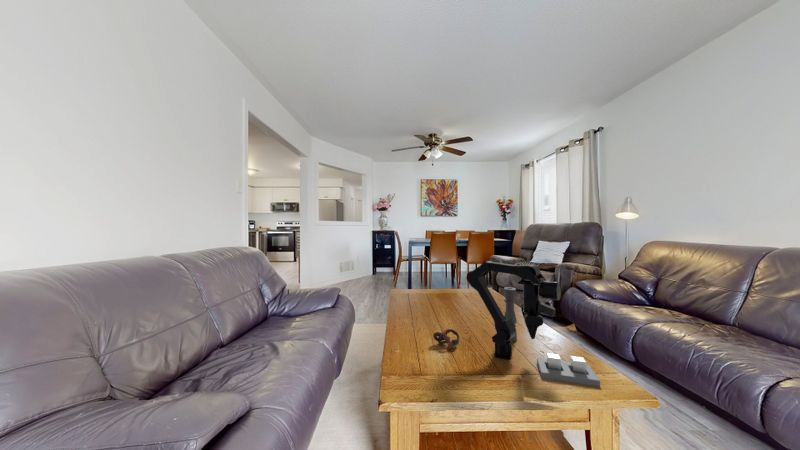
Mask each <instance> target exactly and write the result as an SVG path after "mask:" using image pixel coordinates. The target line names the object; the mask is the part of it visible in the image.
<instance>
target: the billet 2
mask: <svg viewBox="0 0 800 450" xmlns="http://www.w3.org/2000/svg"><path fill="white" fill-rule="evenodd" d="M570 362H571V372H572V373H579V374H586V364H587V361H586V359H585V358H584V357H583V356H582V357H581V356H575V355H570Z"/></svg>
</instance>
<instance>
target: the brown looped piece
mask: <svg viewBox="0 0 800 450" xmlns="http://www.w3.org/2000/svg"><path fill="white" fill-rule="evenodd" d="M450 333H452V335H456V339H452V340H451V337H450V336H448V334H450ZM432 335H433V339H434V340H435V341H436V342H437V343H438V344H441V342H442V341H445V342H446V343H447V349H449V350H451V349H453V348H454V347H456V346H458V345H459V342H460V335H459V333H458V332H457V331H456V330H454V329H452V328H446V329H445V330H443V331H442V332H439V331H436V332H434V333H433V334H432Z"/></svg>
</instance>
